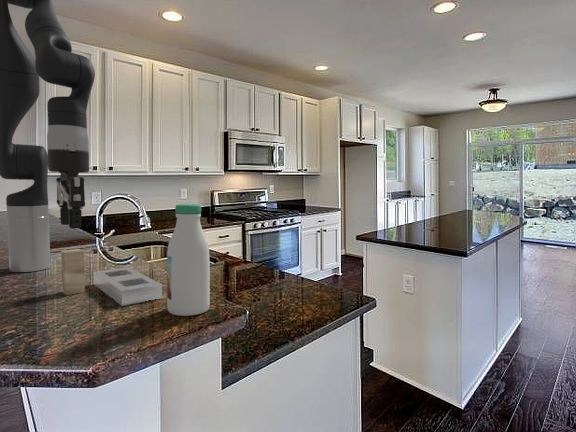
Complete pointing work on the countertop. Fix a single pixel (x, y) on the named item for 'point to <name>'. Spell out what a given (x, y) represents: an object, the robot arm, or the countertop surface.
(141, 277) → the white slotted block
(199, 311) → the milk bottle
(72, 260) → the beech peg
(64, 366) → the countertop surface
